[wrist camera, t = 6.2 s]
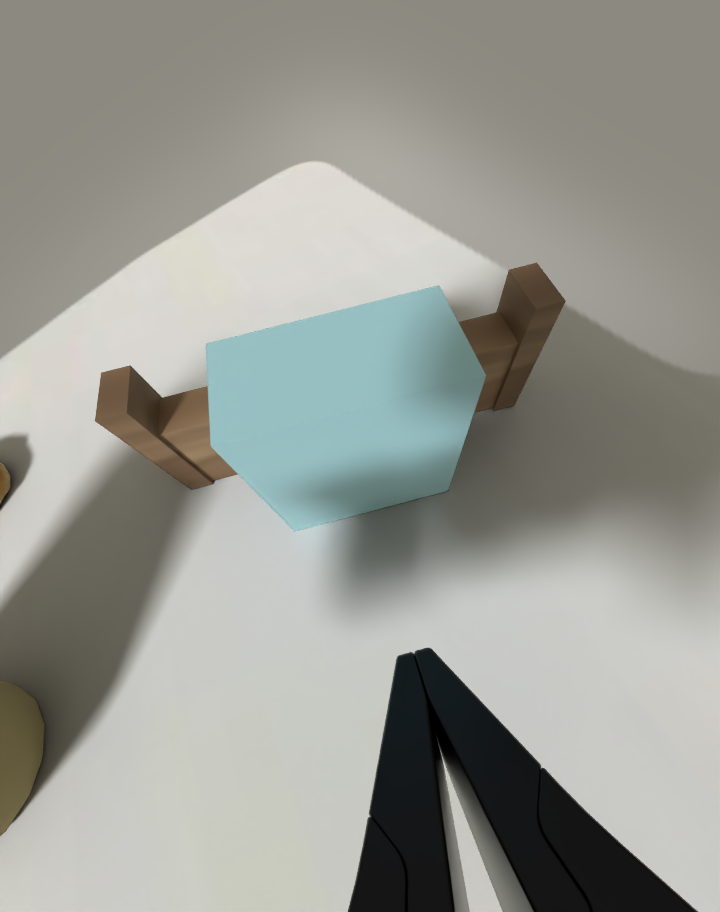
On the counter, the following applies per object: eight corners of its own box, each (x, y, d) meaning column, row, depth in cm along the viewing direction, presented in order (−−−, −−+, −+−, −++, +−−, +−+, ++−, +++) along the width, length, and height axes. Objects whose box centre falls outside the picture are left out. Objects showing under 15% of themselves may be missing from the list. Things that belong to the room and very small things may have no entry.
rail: (514, 405, 20) (565, 300, 14) (191, 489, 20) (95, 421, 13) (496, 373, 21) (536, 262, 15) (190, 452, 21) (101, 372, 15)
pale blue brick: (448, 490, 18) (485, 375, 10) (294, 531, 18) (210, 446, 10) (402, 372, 22) (404, 218, 14) (274, 404, 22) (202, 268, 14)
